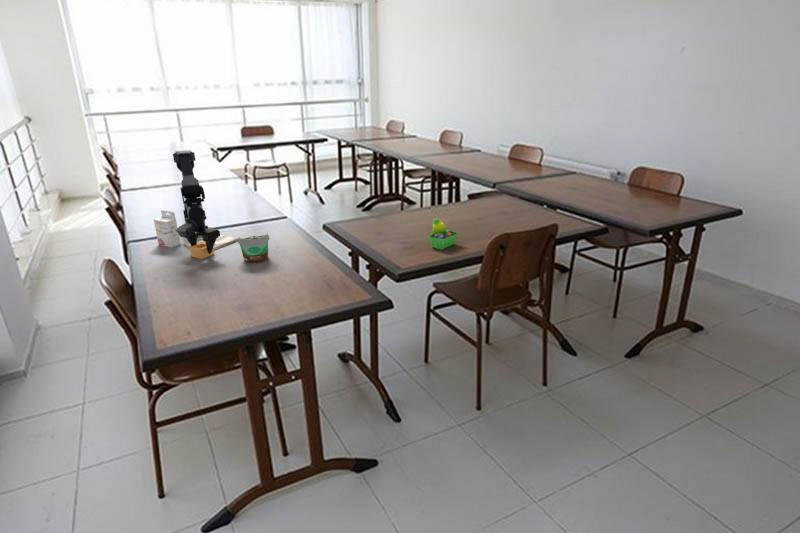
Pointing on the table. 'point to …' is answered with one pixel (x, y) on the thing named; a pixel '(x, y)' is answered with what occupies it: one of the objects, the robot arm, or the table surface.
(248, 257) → the food container
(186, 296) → the table surface
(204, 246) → the orange square ring
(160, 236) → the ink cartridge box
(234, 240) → the post board
